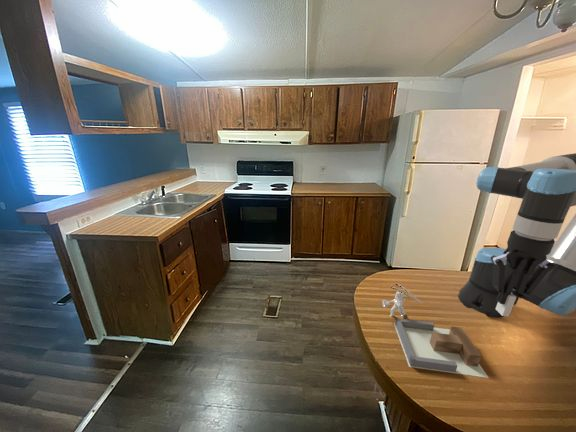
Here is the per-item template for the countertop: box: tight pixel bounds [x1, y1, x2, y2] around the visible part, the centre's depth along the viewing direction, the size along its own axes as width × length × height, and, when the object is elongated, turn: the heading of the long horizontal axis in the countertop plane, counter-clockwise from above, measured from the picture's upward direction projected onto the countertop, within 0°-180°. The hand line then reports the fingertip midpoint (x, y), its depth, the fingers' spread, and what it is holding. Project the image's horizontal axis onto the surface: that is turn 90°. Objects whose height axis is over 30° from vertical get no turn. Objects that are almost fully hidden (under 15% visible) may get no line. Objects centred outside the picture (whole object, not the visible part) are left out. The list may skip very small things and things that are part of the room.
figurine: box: [381, 291, 407, 317], centre depth 80 cm, size 5×9×12 cm, turn 109°
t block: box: [430, 325, 482, 367], centre depth 69 cm, size 10×10×4 cm
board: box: [393, 318, 489, 379], centre depth 70 cm, size 20×16×3 cm
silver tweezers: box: [391, 283, 423, 304], centre depth 93 cm, size 17×5×2 cm, turn 28°
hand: (501, 312), depth 63 cm, fingers closed
